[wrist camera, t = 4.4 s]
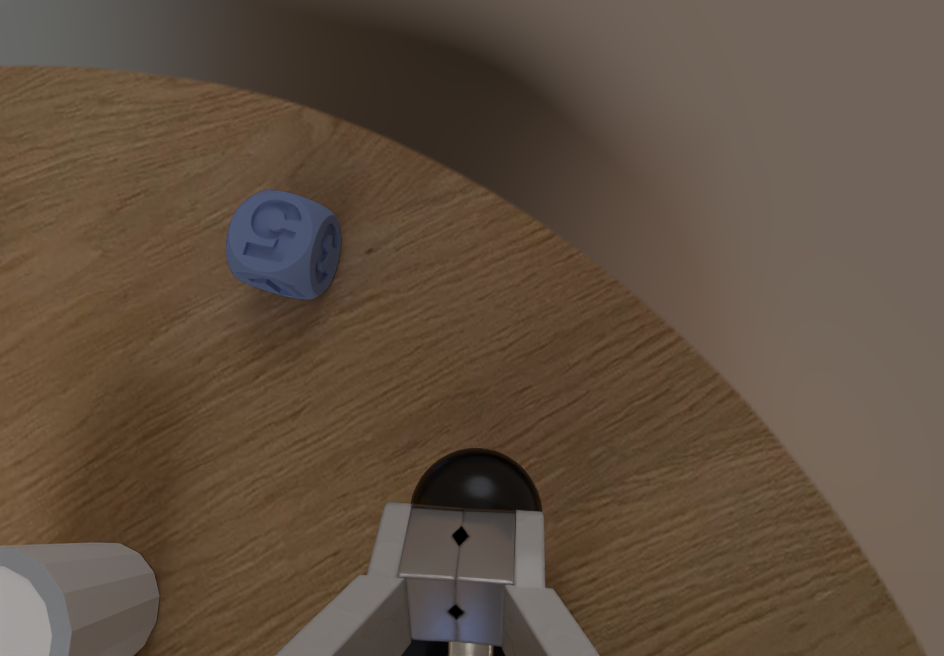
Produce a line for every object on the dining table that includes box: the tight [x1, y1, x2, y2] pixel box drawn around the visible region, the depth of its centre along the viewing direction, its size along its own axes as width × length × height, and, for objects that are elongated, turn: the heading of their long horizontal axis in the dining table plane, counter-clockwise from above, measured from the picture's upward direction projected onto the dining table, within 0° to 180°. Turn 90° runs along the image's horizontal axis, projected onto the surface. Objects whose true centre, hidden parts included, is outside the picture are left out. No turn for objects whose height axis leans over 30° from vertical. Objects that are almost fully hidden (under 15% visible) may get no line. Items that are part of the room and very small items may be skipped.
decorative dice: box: [226, 190, 341, 300], centre depth 30 cm, size 4×4×4 cm
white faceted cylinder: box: [0, 542, 160, 656], centre depth 26 cm, size 7×7×7 cm
